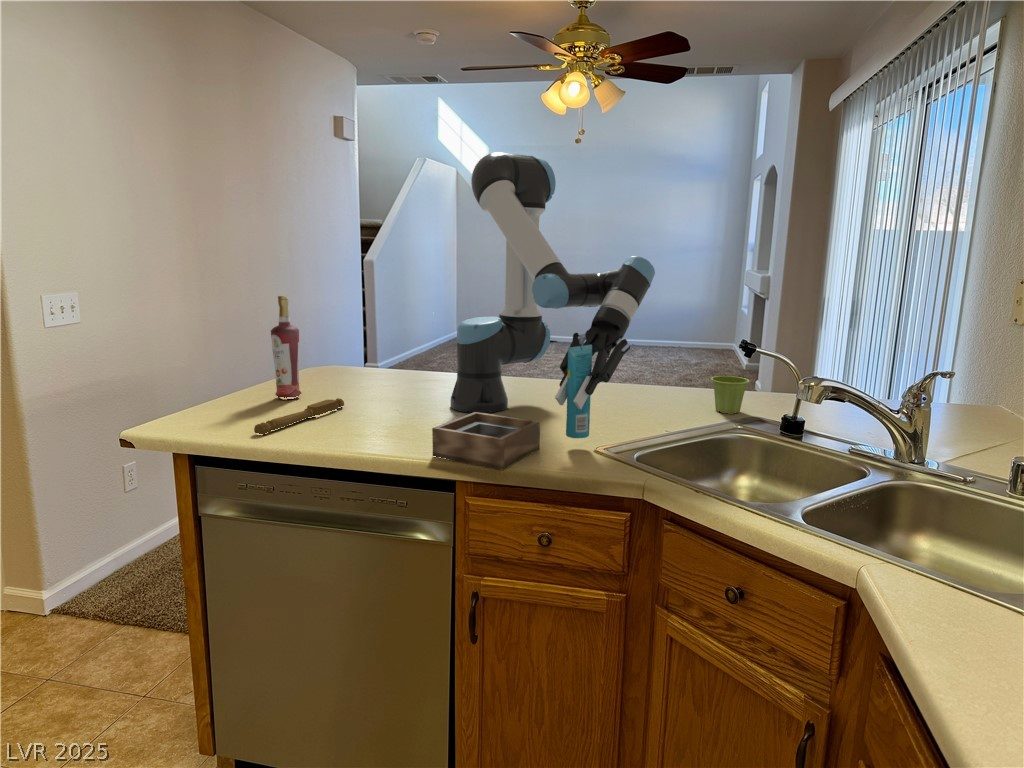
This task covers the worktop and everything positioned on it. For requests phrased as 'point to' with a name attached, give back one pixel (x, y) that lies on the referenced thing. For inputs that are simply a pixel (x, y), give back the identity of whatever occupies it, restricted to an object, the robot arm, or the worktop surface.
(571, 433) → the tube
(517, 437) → the crate
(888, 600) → the worktop surface
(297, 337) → the liquor
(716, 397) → the plant pot
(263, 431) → the tap handle
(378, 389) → the worktop surface
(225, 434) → the worktop surface
